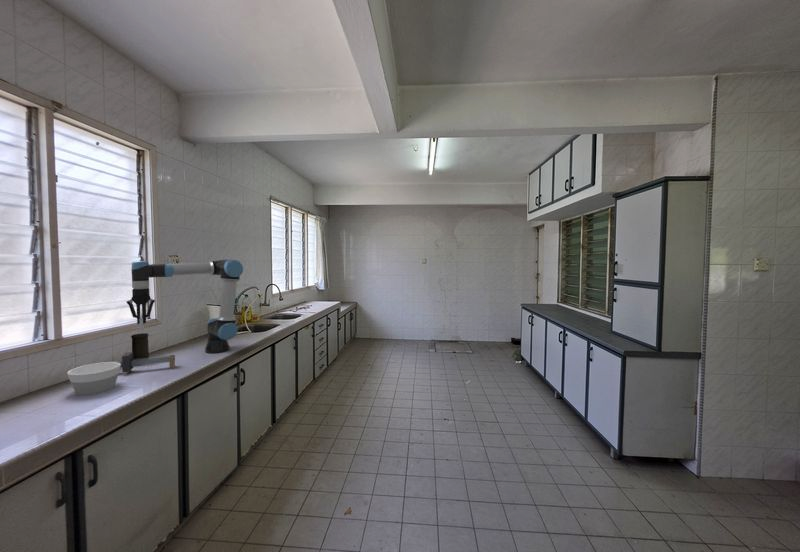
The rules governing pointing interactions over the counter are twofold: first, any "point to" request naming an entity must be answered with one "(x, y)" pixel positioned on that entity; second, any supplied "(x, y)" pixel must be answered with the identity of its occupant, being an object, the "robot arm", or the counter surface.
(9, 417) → the counter surface
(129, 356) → the collar
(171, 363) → the bar
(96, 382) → the bowl
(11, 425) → the counter surface
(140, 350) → the container
